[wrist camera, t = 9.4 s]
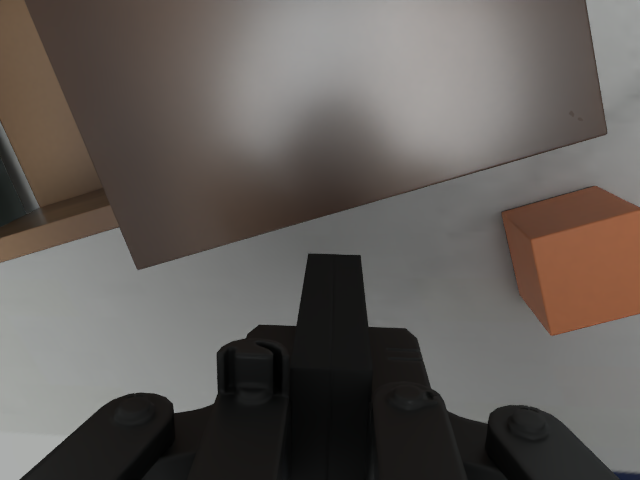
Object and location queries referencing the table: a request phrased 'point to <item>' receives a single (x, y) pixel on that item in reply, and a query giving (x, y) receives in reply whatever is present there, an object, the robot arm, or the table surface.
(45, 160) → the drawer
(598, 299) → the block
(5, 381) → the table surface
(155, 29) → the cabinet
